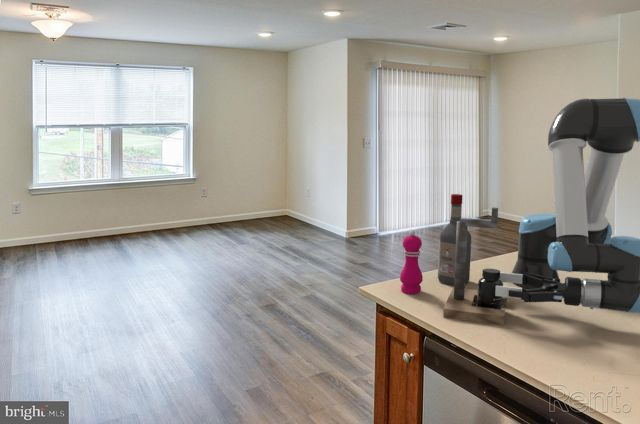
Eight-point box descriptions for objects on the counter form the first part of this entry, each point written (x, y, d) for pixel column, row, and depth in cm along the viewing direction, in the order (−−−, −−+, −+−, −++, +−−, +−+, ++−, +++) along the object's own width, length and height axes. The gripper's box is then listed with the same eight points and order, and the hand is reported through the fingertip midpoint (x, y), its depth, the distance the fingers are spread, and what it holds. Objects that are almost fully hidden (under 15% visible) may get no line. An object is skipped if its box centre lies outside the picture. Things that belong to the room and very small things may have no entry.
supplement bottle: (498, 316, 140) (500, 275, 138) (473, 312, 144) (475, 271, 142) (503, 309, 146) (506, 269, 144) (480, 304, 150) (482, 265, 148)
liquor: (458, 287, 166) (461, 197, 161) (434, 281, 172) (437, 194, 167) (472, 281, 172) (476, 194, 167) (448, 275, 179) (452, 192, 173)
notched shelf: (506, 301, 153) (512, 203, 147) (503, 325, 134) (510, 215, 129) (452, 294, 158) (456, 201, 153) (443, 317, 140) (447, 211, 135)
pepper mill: (422, 295, 158) (424, 233, 155) (399, 294, 159) (400, 232, 156) (422, 288, 165) (424, 228, 162) (400, 287, 166) (401, 228, 163)
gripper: (584, 322, 124) (493, 310, 132) (576, 291, 146) (499, 283, 155) (586, 293, 122) (494, 283, 131) (578, 266, 145) (500, 259, 153)
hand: (497, 283), depth 143 cm, fingers open, 13 cm apart
